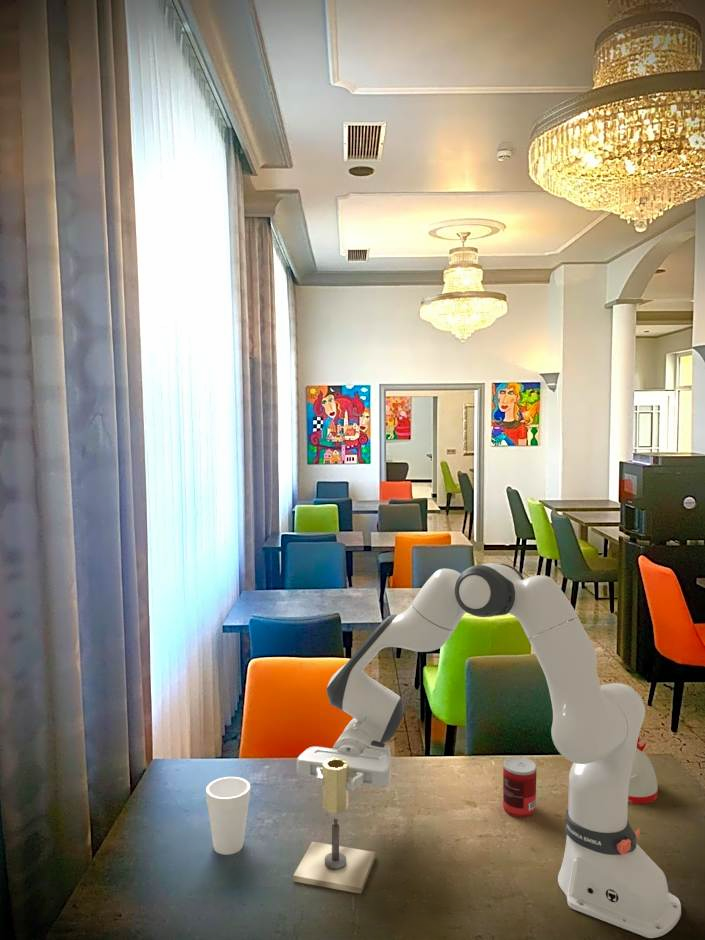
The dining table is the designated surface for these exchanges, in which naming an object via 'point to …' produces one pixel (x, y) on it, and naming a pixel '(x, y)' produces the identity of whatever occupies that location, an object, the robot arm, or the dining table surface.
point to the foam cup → (228, 813)
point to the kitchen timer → (642, 778)
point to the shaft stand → (335, 865)
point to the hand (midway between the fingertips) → (334, 784)
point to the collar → (335, 785)
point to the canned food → (519, 787)
